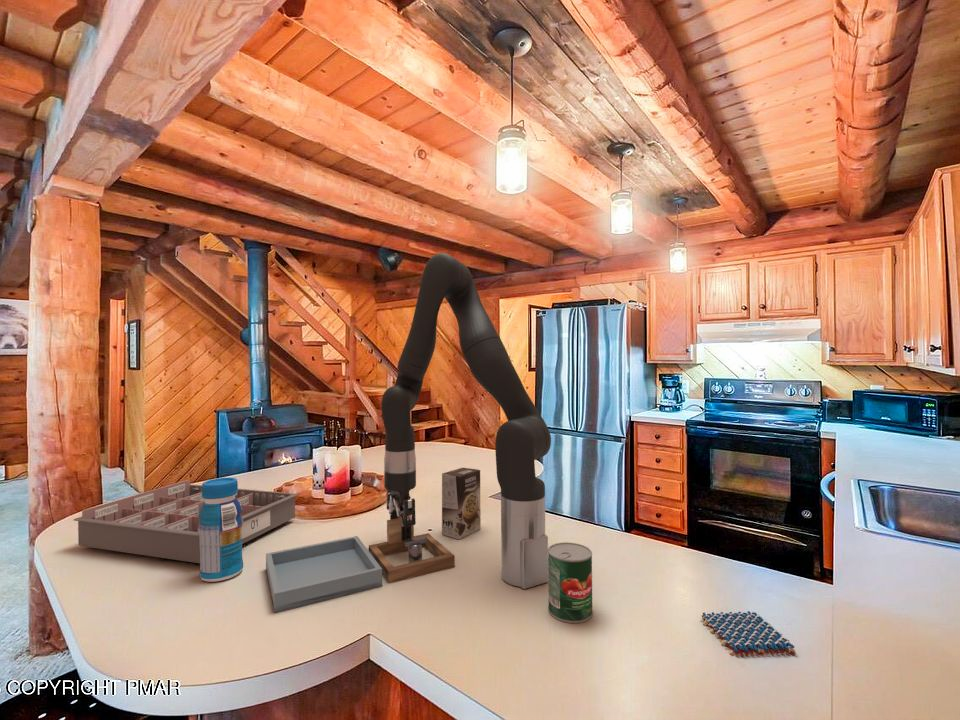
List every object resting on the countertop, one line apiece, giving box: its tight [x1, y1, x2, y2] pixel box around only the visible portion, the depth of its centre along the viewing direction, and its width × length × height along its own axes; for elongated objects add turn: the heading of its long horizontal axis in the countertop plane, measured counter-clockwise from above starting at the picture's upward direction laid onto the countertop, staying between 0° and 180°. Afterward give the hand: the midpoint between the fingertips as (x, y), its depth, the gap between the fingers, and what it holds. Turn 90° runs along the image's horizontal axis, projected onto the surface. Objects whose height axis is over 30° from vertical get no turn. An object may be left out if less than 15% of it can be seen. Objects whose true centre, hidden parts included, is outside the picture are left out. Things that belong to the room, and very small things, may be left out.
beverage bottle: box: [198, 477, 244, 583], centre depth 100 cm, size 8×8×20 cm
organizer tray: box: [73, 479, 299, 564], centre depth 122 cm, size 32×40×10 cm
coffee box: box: [441, 467, 482, 540], centre depth 123 cm, size 9×6×16 cm
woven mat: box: [699, 610, 796, 657], centre depth 76 cm, size 10×11×2 cm
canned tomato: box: [547, 541, 594, 624], centre depth 84 cm, size 8×8×11 cm
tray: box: [265, 535, 383, 614], centre depth 98 cm, size 20×20×4 cm
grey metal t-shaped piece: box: [403, 536, 427, 563], centre depth 103 cm, size 3×5×6 cm, turn 119°
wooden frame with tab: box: [368, 517, 456, 584], centre depth 105 cm, size 15×15×8 cm
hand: (400, 535), depth 111 cm, fingers open, 8 cm apart
